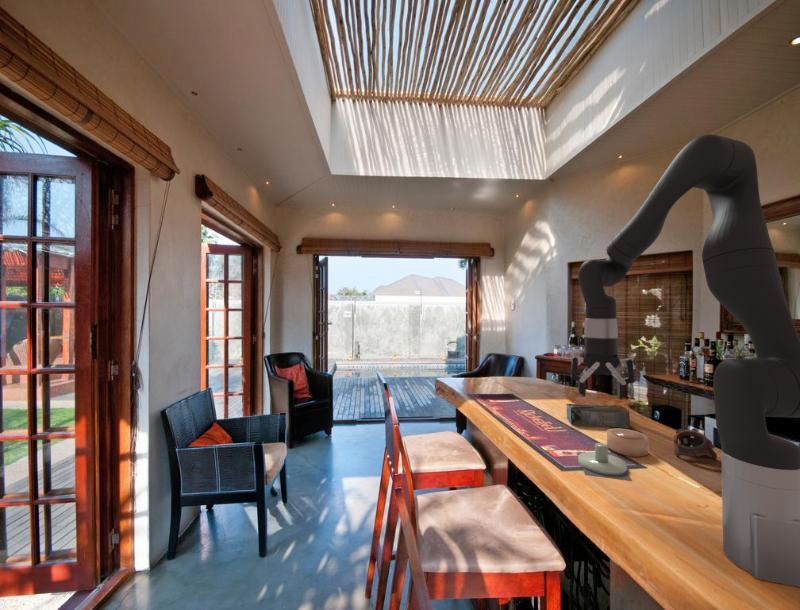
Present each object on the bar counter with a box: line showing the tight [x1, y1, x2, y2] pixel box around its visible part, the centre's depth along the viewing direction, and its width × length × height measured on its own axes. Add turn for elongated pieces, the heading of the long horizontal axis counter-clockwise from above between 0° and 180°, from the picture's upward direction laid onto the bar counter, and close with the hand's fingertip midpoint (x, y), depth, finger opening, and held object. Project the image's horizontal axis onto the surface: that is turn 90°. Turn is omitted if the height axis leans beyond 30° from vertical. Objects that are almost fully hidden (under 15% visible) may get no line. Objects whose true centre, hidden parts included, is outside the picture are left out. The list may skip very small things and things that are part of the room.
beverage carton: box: [566, 403, 631, 429], centre depth 124 cm, size 8×19×7 cm, turn 76°
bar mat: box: [576, 451, 633, 482], centre depth 90 cm, size 14×10×1 cm
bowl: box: [606, 427, 649, 458], centre depth 99 cm, size 10×10×5 cm
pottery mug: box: [673, 428, 718, 461], centre depth 97 cm, size 12×10×8 cm
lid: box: [577, 442, 628, 475], centre depth 90 cm, size 11×11×5 cm
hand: (601, 397), depth 90 cm, fingers open, 8 cm apart
